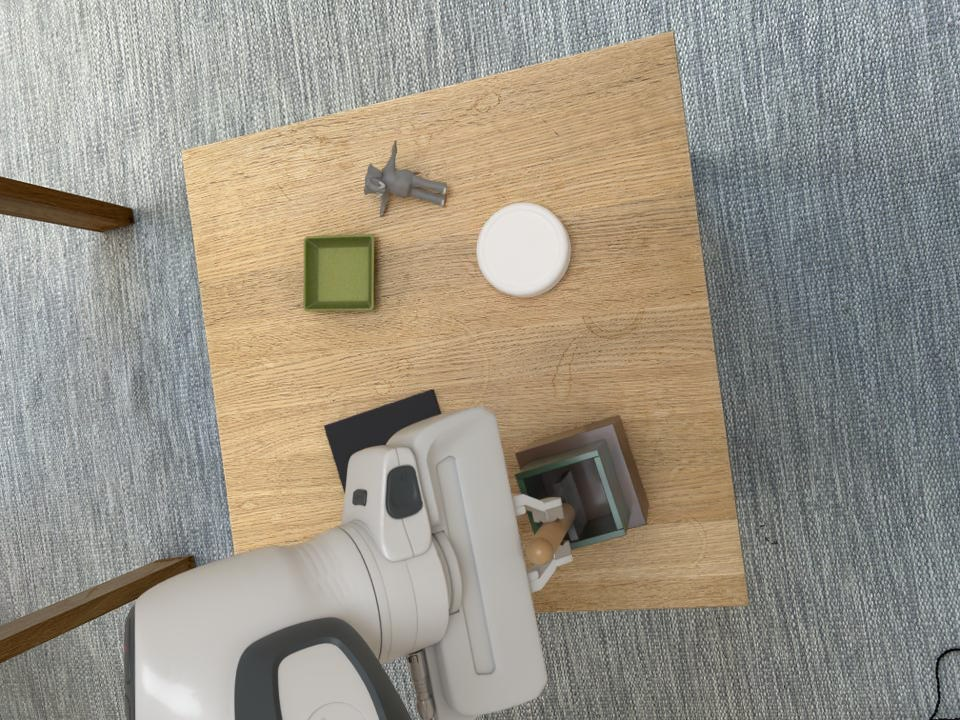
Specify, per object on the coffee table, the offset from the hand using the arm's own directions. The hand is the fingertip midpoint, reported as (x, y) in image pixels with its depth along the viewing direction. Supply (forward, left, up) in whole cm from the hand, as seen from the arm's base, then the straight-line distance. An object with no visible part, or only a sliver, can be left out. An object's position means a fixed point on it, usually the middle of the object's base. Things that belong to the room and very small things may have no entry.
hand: (562, 527), depth 56 cm
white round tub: (+25, 0, -28) cm, 37 cm away
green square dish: (+30, +21, -28) cm, 46 cm away
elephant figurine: (+37, +10, -28) cm, 47 cm away
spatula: (0, +1, -13) cm, 13 cm away
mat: (+5, +22, -27) cm, 35 cm away
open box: (0, +1, -27) cm, 27 cm away
